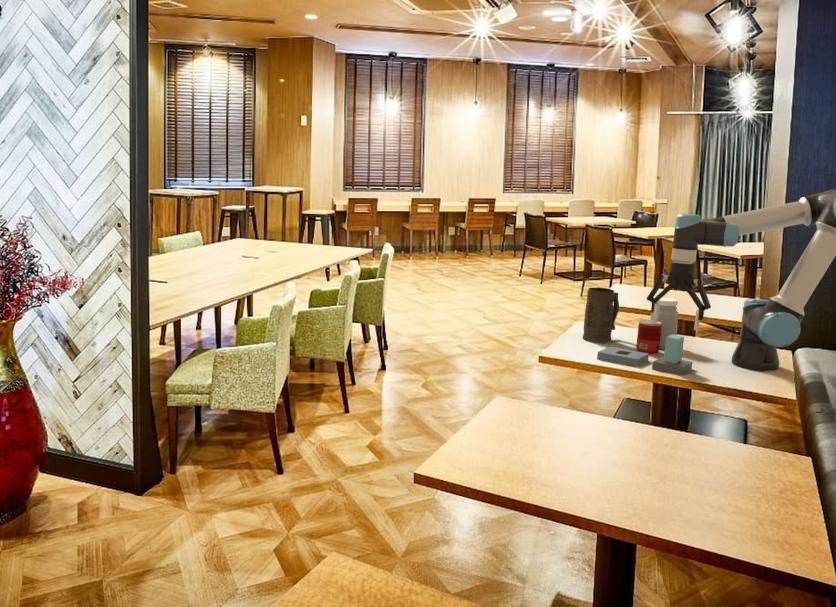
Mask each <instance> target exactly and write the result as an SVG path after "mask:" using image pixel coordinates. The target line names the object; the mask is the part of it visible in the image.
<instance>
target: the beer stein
mask: <svg viewBox="0 0 836 607" xmlns="http://www.w3.org/2000/svg"><path fill="white" fill-rule="evenodd" d="M619 309H620V303H619V293H618V292H615V290H614V289H610V288H605V287H588V288H587V296H586V304H585V310H584V319H583V320H584V321H583V334H582V339H583V340H584V341H587V342H591V343H604V344H605V343H610V342H612V331H615V330H616V325H615V321H616V319H617V317H618V314H619Z"/></svg>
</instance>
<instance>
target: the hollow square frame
mask: <svg viewBox="0 0 836 607" xmlns="http://www.w3.org/2000/svg"><path fill="white" fill-rule="evenodd" d="M651 364H652V365H651V369H652V370H655V371H660V372H666V373H671V374H676V375H684V374H686V373H688V372H689V371H691V370H692V368H693V361H689V360H684V359H682V360H681V361H679V363H678V364H672V363H666V361H664V356H661V357H659V358H657V359H655V360H653V361H652V363H651Z"/></svg>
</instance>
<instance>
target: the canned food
mask: <svg viewBox="0 0 836 607" xmlns="http://www.w3.org/2000/svg"><path fill="white" fill-rule="evenodd" d="M661 329H662V323H661V322H659V321H658V322H657V323H653V320H651V319H640V320H639V321H638V327H637V337H636V348H635V349H636V351H637V352H643V353H648V354H649V355H656V354H658V353H659V352H660V349H659V348H660V338H661Z"/></svg>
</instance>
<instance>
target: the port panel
mask: <svg viewBox="0 0 836 607" xmlns="http://www.w3.org/2000/svg"><path fill="white" fill-rule="evenodd" d="M596 356H597V357H596V359H597V360H600V359H602V360H601V361H605V360H606V361H607V362H612V363H615V362H616V363H617V364H622V365H627V366H632V367H639V366H641V365H642V364H643V365H644V363H646V362H648V361H649V356H650V354H648V353H643V352H638V351H637V350H631V349H626V348H625V349H624V348H619V347H614V346H609V347H606V348H603V349H601V350H599V351H597V355H596Z"/></svg>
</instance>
